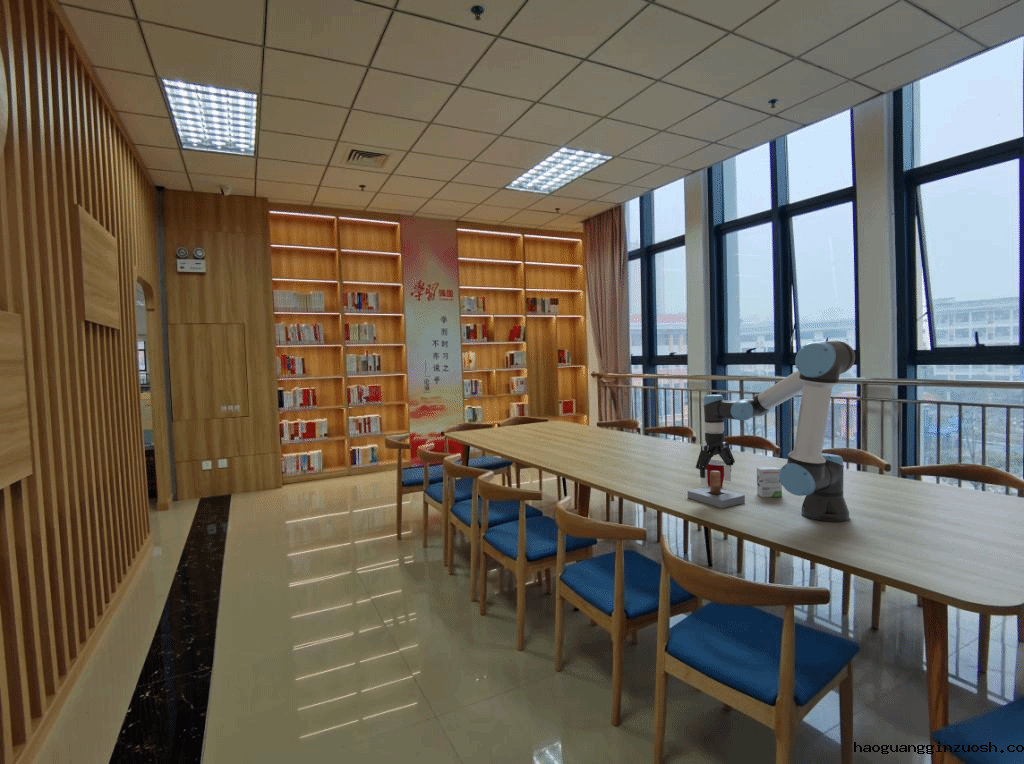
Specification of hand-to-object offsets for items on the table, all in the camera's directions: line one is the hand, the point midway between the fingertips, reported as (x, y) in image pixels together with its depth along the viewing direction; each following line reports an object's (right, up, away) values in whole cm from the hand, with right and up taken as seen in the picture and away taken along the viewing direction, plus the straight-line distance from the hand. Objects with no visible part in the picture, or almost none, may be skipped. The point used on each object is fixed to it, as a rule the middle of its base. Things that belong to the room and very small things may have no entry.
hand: (716, 483), depth 216 cm
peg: (0, -7, +1) cm, 7 cm away
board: (0, -7, +1) cm, 7 cm away
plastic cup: (+8, -6, +20) cm, 23 cm away
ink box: (+24, -6, +4) cm, 25 cm away
